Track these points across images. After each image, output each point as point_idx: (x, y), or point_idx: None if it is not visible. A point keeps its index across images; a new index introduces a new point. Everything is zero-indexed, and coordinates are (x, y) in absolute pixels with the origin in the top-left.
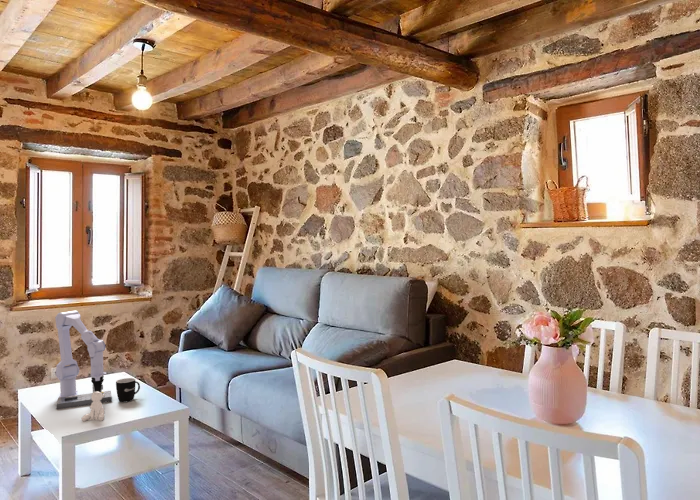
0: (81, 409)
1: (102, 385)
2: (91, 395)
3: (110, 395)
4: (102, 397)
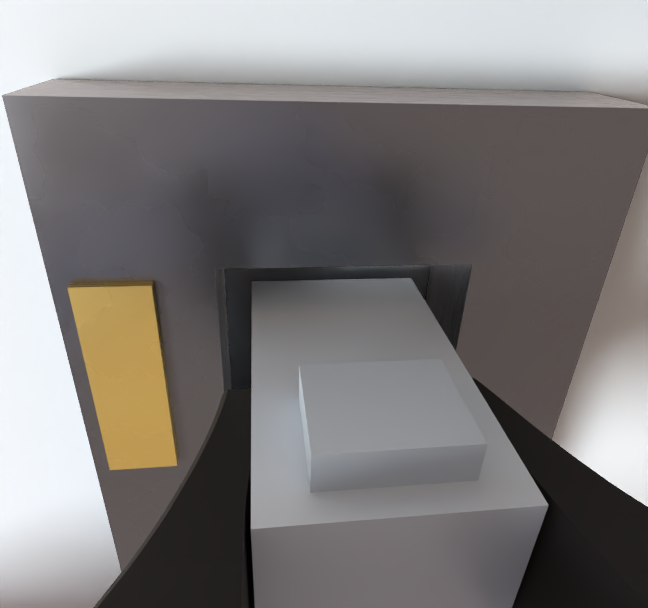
0: (643, 473)
1: (456, 457)
2: None
3: (542, 128)
4: (572, 293)
